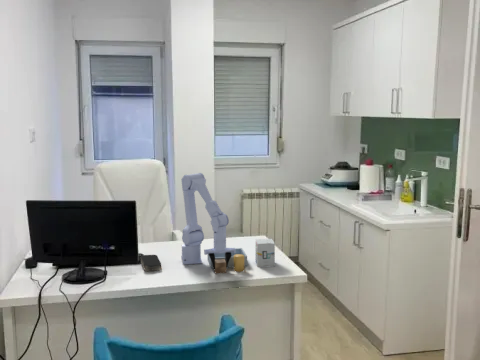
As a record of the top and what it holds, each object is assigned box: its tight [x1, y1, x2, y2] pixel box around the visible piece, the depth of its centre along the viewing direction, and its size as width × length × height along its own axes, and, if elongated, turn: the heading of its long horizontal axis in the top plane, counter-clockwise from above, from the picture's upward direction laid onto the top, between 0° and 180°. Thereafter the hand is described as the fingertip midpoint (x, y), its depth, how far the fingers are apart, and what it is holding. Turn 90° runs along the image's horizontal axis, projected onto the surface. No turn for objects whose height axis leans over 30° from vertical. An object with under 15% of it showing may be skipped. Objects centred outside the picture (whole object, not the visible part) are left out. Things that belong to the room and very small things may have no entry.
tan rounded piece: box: [233, 254, 245, 273], centre depth 229 cm, size 5×5×7 cm
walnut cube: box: [213, 259, 227, 274], centre depth 227 cm, size 5×5×5 cm
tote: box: [207, 247, 248, 269], centre depth 240 cm, size 18×14×5 cm
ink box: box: [255, 238, 276, 268], centre depth 237 cm, size 8×8×12 cm
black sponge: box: [140, 254, 162, 272], centre depth 235 cm, size 16×8×4 cm, turn 18°
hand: (220, 268), depth 228 cm, fingers closed on walnut cube, 5 cm apart
